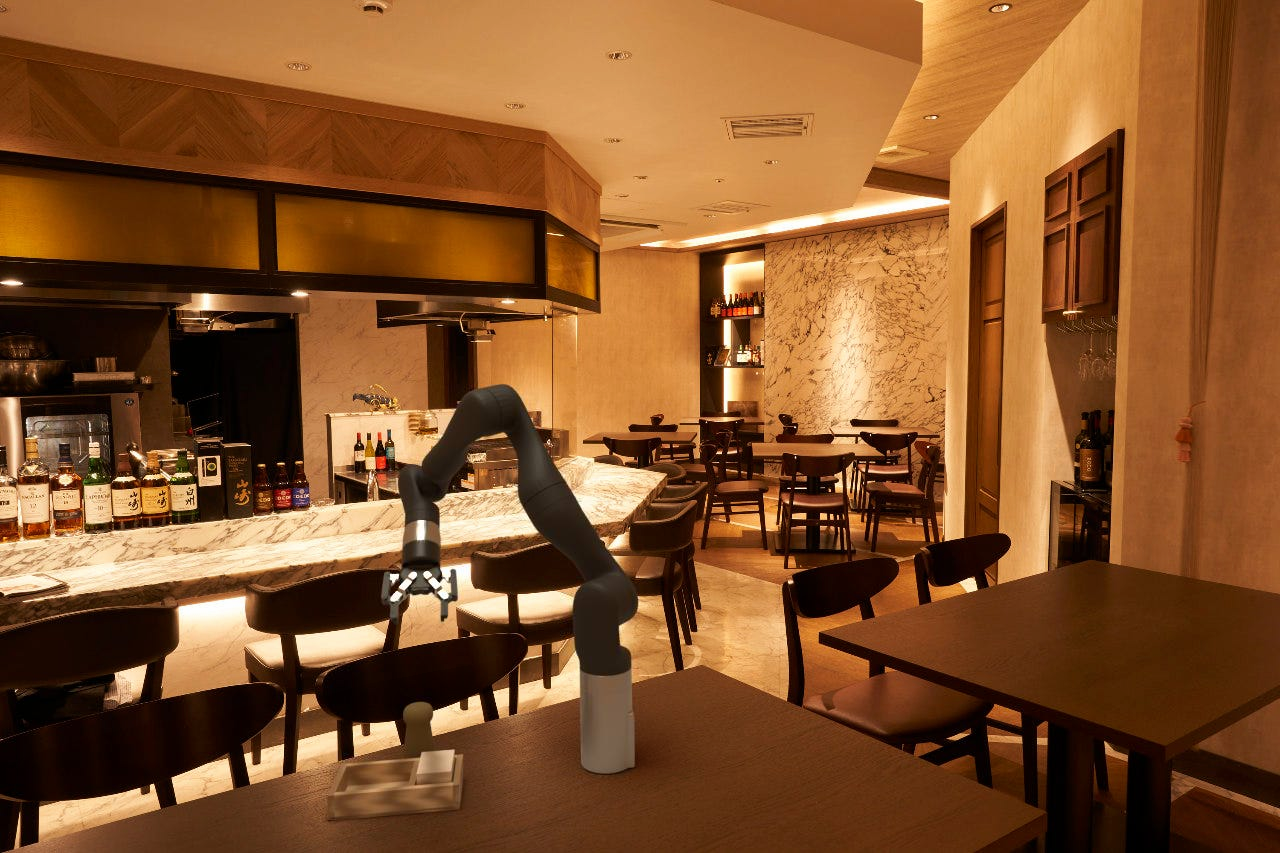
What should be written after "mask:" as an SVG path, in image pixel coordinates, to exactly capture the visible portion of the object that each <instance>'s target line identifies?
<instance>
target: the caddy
mask: <svg viewBox="0 0 1280 853" xmlns="http://www.w3.org/2000/svg"><path fill="white" fill-rule="evenodd" d="M455 751H456V750H455V749H445V750H435V751H430V752H422V753H421V758H410V759H403V758H401V759H398V758H397V759H388V760H387V759H385V760H375V761H373V760H372V761H364V762H363V761H361V762H350V763H342V764H341V765H340V767H339V770H338V771H337V774H336V775H335V778H334V781H333V783H332V785H331V787H330V789H329V791H328V793H327V821H328V820H335V821H343V820H356V819H367V818H377V817H379V818H380V817H388V816H389V817H390V816H400V815H410V814H421V813H433V812H445V811H446V812H447V811H455V810H460V808H461V801H462V793H463V785H464V754H462V753H461V754H455Z"/></svg>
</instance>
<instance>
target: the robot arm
mask: <svg viewBox="0 0 1280 853" xmlns="http://www.w3.org/2000/svg"><path fill="white" fill-rule="evenodd" d="M503 433H504V434H505V435H506V437H507V438H508V440H509V442H510V443H511V446H512V448H513V449H514V453H515V455H516V459H517V496H518V500H519V503H520V505H521V507H522V509H523V510H524V511H525V513H526V515H527V517H528V518H529V520H530V523H531V524H532V525H533V527H534V529H535V530H536V531H537V533H539V535H541V537H543V538H544V539H545V540H546V541H547V542H548V543H549V544H551V545H552V546H553V547H555V548H556V549H557V550H559V552H561V553H563V555H565V556H566V557H567V558H568V559H569V560H570V561H571V562H572V563H573V565H574V566H575V567H576V568H577V570H578V571H579V573H580V575H581V576H582V578H583V580H584V582H585V583H583V584H581V586H579V587H578V588H577V590H576V592H575V594H574V597H573V601H572V625H573V627H572V628H573V641H574V643H573V644H574V650H575V653H576V656H577V658H578V661H579V663H578V664H579V709H580V710H579V712H580V713H579V717H580V719H579V720H580V724H579V725H580V763H581V766H582V768H583V769H585V770H586V771H589V772H592V773H596V774H616V773H619V772H622V771H624V770H627V769H629V768H635V767H636V761H635V759H636V758H635V756H636V755H635V753H636V748H635V745H636V744H635V740H636V739H635V713H634V711H633V688H632V687H633V686H632V685H633V682H632V680H633V679H632V676H633V675H632V672H633V671H632V654H631V651H630V649H629V648H627V647H626V646H623V645H621V639H620V638H621V637H620V636H621V634H620V626H622V625H624V624H626V623H627V622H629V621H630V620H632V619H633V618H634V617H635V615H636V614H637V613H638V609H639V595H638V593H637V590H636V587H635V586H634V584H633V582H632V580H631V579H630V577H629V576H628V575H627V574H626V572H625V571H624V570H623V568H622V566H621V565H620V564H619V563H618V562H617V560H616V558H615V557H614V556H613V555H612V553H611V552H610V551H609V550H608V548H607V547H606V545H605V544H604V542H603V541H602V540H601V537H600V536H599V534H598V533H597V530H596V529H595V528H594V526H593V524H592V522H590V520H589V518H588V517H587V515H586V513H585V512H584V510H583V508H582V507H581V505H580V503H579V501H578V500H577V498H576V496H575V494H574V493H573V491H572V489H571V487H570V485H569V484H568V482H567V480H566V479H565V478H564V476H563V475H562V473H561V472H560V470H559V469H558V467H557V465H556V463H555V462H554V460H553V458H552V457H551V455H550V452H549V451H548V450H547V447H546V446H545V444H544V442H543V440H542V439H541V437H540V434H539V432H538V430H537V428H536V426H535V424H534V421H533V419H532V418H531V415H530V412H529V411H528V409H527V408H526V405H525V403H524V401H523V400H522V397H521V396H520V395H519V393H518V392H517V391H516V390H515V389H514V387H513V386H511V385H509V384H506V383H505V384H504V383H499V384H494V385H490V386H484V387H480V388H477V389H473V390H471V391H468V392H467V393H465V395H463V397H462V398H461V400H460V401H459V403H458V404H457V405H456V408H455V411H454V413H453V415H452V416H451V418H450V420H449V422H448V424H447V426H446V428H445V430H444V432H443V434H442V436H441V437H440V439H439V440H437V442H436V443H435V445H433V447H432V448H431V449H430V450H429V451H428V452H427V453H426V455H425V456H424V457H423V459H422V461H421V465H419V464H416V463H412V464H411V463H409V464H407V465H405V466H404V467H403V468H402V469H401V470H400V472H399V475H398V477H397V489H398V493H399V497H400V498H399V499H400V501H401V504H402V507H403V511H404V531H403V535H402V547H401V549H402V550H401V570H400V571H399V573H396V574H394V573H393V574H392V573H391V571H385V572H384V573H383V574H384V575H383V580H382V581H383V582H382V588H381V596H380V597H381V603H382V605H383V606H387V605H388V606H390V611H389V617H390V618H389V619H390V620H391V622H393V625H398V624H399V616H400V615H399V614H400V613H399V611H400V606H399V605H400V604H401V603H402V602H404V601H405V600H406V599H407V598H408V597H409V596H410V595H411V596H413V597H414V596H420V595H421V596H428V595H429V594H432V595H433V596H434V597H435V598H436V599H437V600H439V602H440V615H439V616H440V623H441V622H442V623H443V622H444V623H445V620H447V619H448V618H449V604H450V603H452V602H455V603H456V602H457V601H458V600H459V593H458V592H459V591H458V590H459V589H458V579H457V578H458V576H457V570H456V569H455V568H451V569H450V570H449V571H442V570H441V552H442V551H441V550H442V540H441V539H442V537H441V530H440V525H441V521H440V520H441V519H440V516H441V511H440V508H439V506H438V504H436V503H437V502H440V501H442V500H443V499H445V497H446V495H447V492H448V489H449V486H450V484H451V480H452V478H454V476H455V475H456V473H458V472H459V471H460V470H461V468H462V467H463V466H465V463H466V462H467V460H468V456H469V446H470V445H472V444H473V443H475V442H476V441H477V440H479V439H481V438H489V437H492V436H496V435H499V434H503ZM443 580H445V582H446V583H448V584H450V592H448V593H447V592H446V591H445V589H444V588H443V587H442V585H441V582H442V581H443ZM396 582H399V584H400V585H399V587H398V588H397V590H396V591H395V593H393V595H391V594H390V593H391V587H393V586H394V585H395V584H396Z"/></svg>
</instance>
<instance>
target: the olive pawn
mask: <svg viewBox="0 0 1280 853" xmlns="http://www.w3.org/2000/svg"><path fill="white" fill-rule="evenodd" d="M402 717H403V722H404V723H405V725H406V726H405V727H406V728H405V737H404V747H403V754H402V755H403V756H402V759H410V758H421V753H422V752H430V751H436V749H435V744H434V742H435V741H434V736H433V730H432V724H431V721H432V720H433V718H434V708H433V707H432V705H431V704H430V703H428V702H425V701H416V702H412V703H410V704H408V705H407V706H405V708H404V709H403V713H402Z"/></svg>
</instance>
